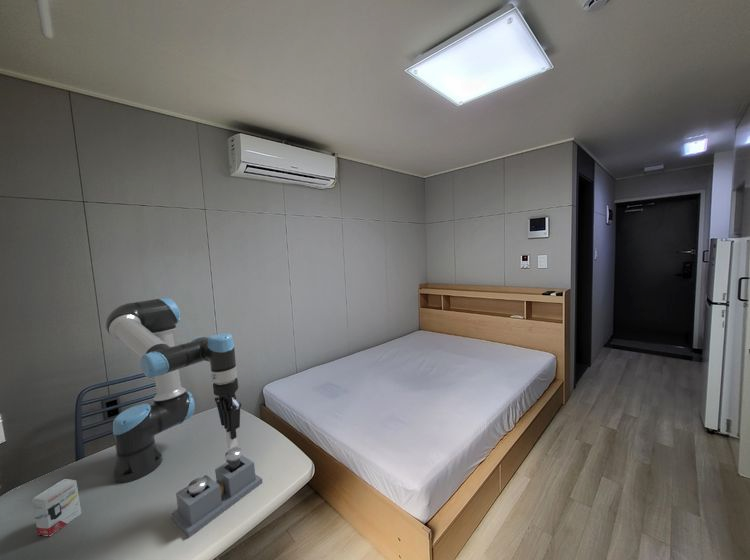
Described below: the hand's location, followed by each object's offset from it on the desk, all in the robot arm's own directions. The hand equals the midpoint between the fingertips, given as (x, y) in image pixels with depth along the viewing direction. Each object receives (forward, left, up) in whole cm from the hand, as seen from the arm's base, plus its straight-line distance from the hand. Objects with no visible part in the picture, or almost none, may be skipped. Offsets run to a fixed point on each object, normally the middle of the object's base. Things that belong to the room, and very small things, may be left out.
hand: (232, 446), depth 103 cm
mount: (0, -6, -15) cm, 16 cm away
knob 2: (0, 0, -10) cm, 10 cm away
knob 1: (0, -12, -13) cm, 18 cm away
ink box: (-35, -38, -15) cm, 54 cm away
